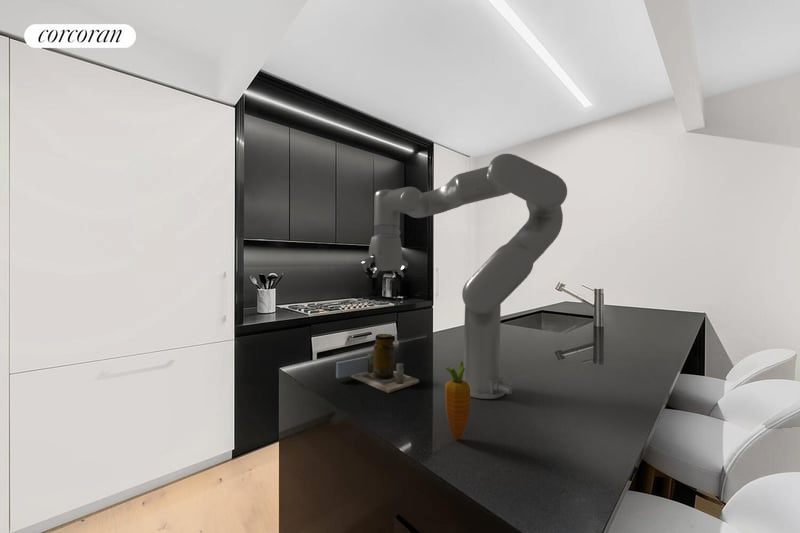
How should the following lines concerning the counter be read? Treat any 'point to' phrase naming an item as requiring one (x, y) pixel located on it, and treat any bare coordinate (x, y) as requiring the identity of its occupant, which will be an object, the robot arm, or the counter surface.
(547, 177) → the robot arm
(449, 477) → the counter surface
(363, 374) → the gate frame
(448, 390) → the carrot
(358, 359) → the panel
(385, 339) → the condiment
